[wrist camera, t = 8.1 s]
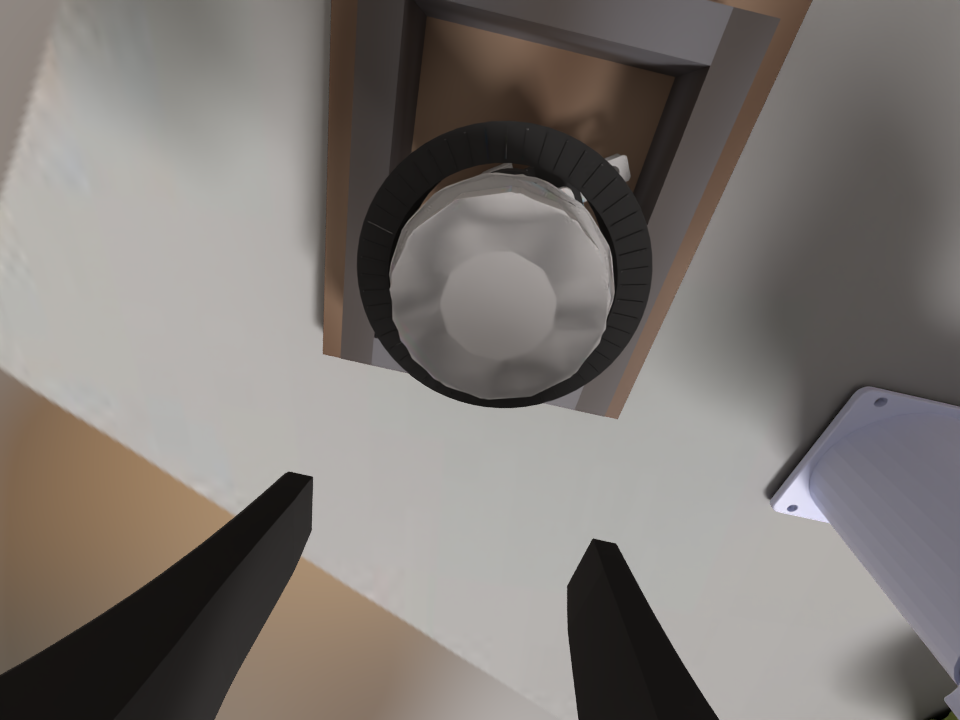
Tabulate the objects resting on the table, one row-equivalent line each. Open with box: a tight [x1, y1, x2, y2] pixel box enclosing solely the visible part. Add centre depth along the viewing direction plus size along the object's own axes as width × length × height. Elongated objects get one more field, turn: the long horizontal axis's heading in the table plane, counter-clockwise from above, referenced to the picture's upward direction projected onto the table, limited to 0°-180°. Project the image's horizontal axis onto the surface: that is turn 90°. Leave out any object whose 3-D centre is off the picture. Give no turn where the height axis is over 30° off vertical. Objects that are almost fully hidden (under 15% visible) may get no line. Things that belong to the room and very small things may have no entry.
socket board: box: [323, 0, 812, 419], centre depth 15 cm, size 14×16×4 cm
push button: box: [357, 121, 653, 408], centre depth 11 cm, size 7×5×10 cm
